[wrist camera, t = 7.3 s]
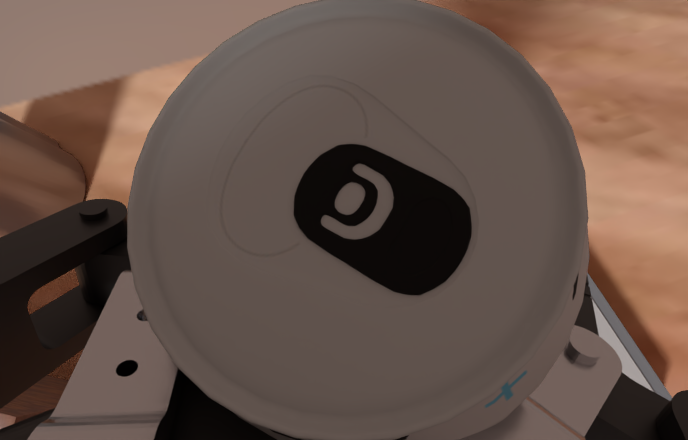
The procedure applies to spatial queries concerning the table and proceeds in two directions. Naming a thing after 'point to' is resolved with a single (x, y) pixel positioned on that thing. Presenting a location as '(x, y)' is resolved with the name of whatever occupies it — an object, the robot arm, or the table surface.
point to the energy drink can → (362, 224)
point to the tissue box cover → (33, 401)
